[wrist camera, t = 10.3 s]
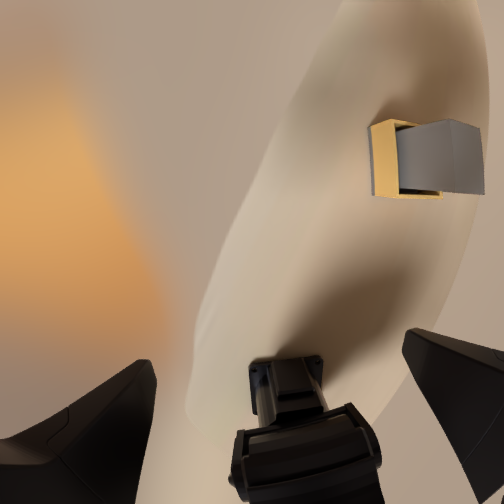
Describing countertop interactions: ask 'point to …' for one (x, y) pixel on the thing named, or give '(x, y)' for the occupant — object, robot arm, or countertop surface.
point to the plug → (441, 157)
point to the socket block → (390, 162)
